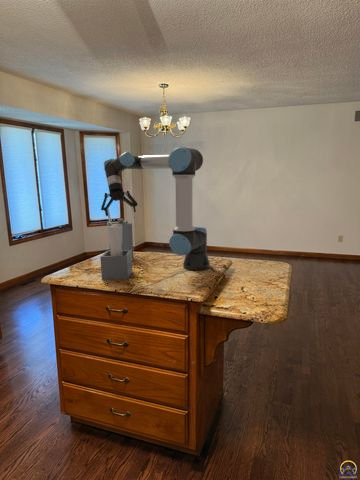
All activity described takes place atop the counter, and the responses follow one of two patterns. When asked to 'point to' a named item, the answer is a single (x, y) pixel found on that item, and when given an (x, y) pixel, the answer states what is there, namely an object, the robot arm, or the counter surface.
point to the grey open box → (116, 265)
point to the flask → (125, 235)
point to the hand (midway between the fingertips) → (122, 219)
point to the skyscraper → (115, 239)
